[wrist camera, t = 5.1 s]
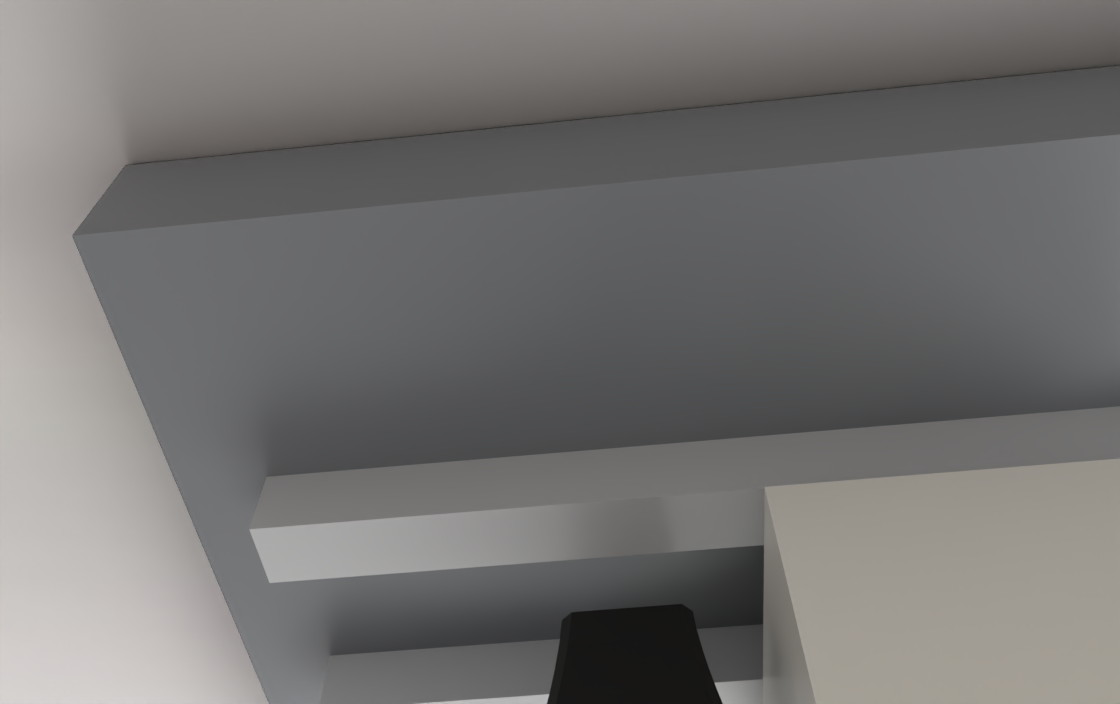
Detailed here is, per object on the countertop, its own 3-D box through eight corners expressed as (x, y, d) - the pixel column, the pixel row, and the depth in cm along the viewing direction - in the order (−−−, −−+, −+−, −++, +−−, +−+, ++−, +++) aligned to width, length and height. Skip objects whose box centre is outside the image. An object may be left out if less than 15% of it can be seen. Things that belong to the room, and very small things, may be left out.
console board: (1603, 656, 16) (1745, 800, 14) (340, 743, 17) (313, 886, 15) (2094, -33, 10) (2452, 53, 8) (125, 165, 11) (38, 280, 9)
